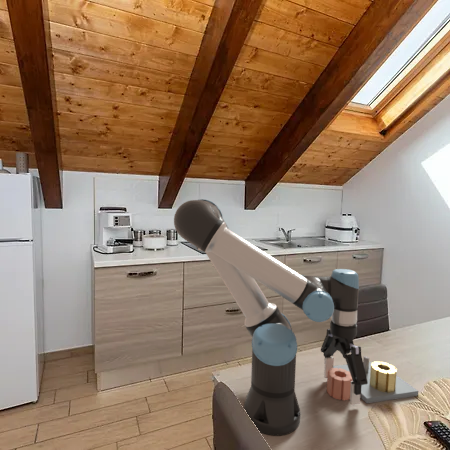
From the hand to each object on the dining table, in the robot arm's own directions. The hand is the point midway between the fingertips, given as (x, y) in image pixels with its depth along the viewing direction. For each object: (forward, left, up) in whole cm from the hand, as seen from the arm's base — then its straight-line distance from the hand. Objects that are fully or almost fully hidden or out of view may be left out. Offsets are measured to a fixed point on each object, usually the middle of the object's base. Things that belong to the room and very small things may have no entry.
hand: (340, 389), depth 97 cm
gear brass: (+14, -1, 0) cm, 14 cm away
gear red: (0, 0, -1) cm, 1 cm away
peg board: (+14, +3, -1) cm, 14 cm away
